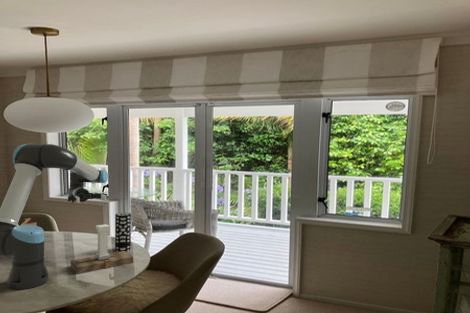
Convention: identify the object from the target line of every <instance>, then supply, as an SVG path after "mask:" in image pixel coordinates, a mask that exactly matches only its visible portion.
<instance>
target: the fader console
mask: <svg viewBox="0 0 470 313" xmlns="http://www.w3.org/2000/svg"><path fill="white" fill-rule="evenodd" d="M108 254H109V255H110V258H108V259H103V260H99V259H97V258H96V257H95V255H94V256H88V257H83V258H75V259H72V260H70V267H71V269H72V270H73V271H74V272H75V273H76V274H77V275H79V274H83V273H90V272H94V271H99V270H103V269H109V268H113V267H119V266H123V265H128V264H134V256H133V255H131V254H129V252H127V251H126V252H125V251H121V252H117V251H115V252H111V253H108Z"/></svg>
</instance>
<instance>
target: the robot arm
mask: <svg viewBox="0 0 470 313" xmlns="http://www.w3.org/2000/svg"><path fill="white" fill-rule="evenodd" d="M12 162H13V165H14V166H13V167H14V169H15V173H14V175H13V178H12V180H11V183H10V185H9V187H8V190H7V191H6V194H5V197H4V198H3V201H2V203H1V206H0V258H11V259H12V260H11V262H12V264H11V269H10V272H9V275H8V277H7V280H6V286H7V288H8V289H11V290H12V289H13V290H26V289H31V288H32V289H33V288H35V287H39V286H42V285H44V284H46V283H47V282H48V281H49V278H50V276H49V275H50V273H49V270H48V268H47V266H46V262H45V239H46V237H45V230H44V229H43V227H41V226H38V225H37V226H34V225H21V224H20V225H19V222H20V219H21V216H22V213H23V211H24V209H25V206H26V203H27V200H28V198H29V195H30V193H31V191H32V188H33V186H34V183H35V180H36V178H37V177H38V176H40V175H42V172H43V170H44V169H59V170H60V169H61V170H64V171H69V188H68V190H67V194H68V196H67V201H68V202H71V203H73V204H74V203H77V204H80V202H81V203H84V202H86V201H88V200H94V199H95V200H97V199H100V200H101V201H104V202H106V201H107V199H108V194H107V193H104V192H103V193H100V192H90V191H89V190H88V189H86V188H84V186H85V185H84V183H85V184H86V183H92V184H94V183H95V184H105V183H107V182H108V180H109V172H108V171H107V170H105V169H104V170H103V169H98V168H96V167H94V166H93V165H91V164H90V163H88V162H86V161H84V160H82V159H81V158H79V157H77V155H76V154H75V153H74V152H72V151H71V150H69V149H67V148H65V147H63V146H60V145H57V144H54V143H53V144H52V143H51V144H50V143H47V144H46V143H23V144H20V145H18V146H17V147H16V148H15V149H14V151H13V153H12Z"/></svg>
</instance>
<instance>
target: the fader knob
mask: <svg viewBox="0 0 470 313" xmlns="http://www.w3.org/2000/svg"><path fill="white" fill-rule="evenodd" d="M110 226H111V225H109V224H106V223H105V224H98V225H97V224H96V225H95V230H96V231H97V253H94V254H95V255H94V256H95V257H96V258H97V259H99V260H103V259H108V258H110V255H109V254H110V253H109V252H108V251H109V250H108V249H109V248H108V247H109V245H108V244H109V243H108V241H109V231H110V230H111V227H110Z"/></svg>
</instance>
